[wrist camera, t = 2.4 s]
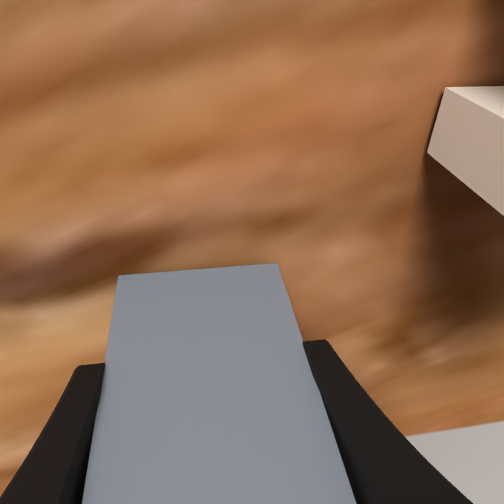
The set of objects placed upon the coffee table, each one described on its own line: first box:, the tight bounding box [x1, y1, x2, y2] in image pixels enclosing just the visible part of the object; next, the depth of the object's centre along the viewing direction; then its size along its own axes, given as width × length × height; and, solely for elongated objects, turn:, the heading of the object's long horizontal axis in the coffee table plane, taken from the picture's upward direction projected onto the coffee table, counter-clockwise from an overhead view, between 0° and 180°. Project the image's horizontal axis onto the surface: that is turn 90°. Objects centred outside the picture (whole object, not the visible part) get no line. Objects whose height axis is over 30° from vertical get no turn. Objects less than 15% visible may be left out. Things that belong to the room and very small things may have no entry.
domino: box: [82, 263, 356, 504], centre depth 10 cm, size 2×5×9 cm, turn 89°
